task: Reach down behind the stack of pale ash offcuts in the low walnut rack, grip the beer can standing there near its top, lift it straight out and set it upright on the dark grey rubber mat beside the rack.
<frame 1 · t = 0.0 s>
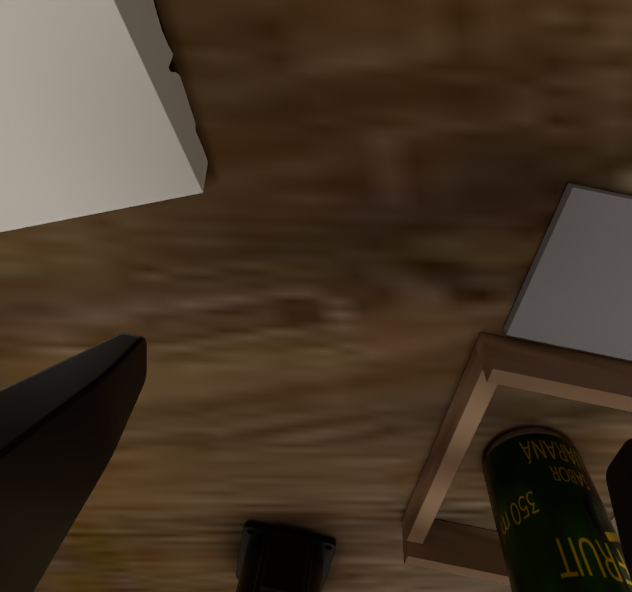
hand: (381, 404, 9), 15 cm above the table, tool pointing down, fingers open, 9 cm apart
beer can: (526, 454, 29), resting in walnut rack
walnut rack: (602, 473, 29), on the table
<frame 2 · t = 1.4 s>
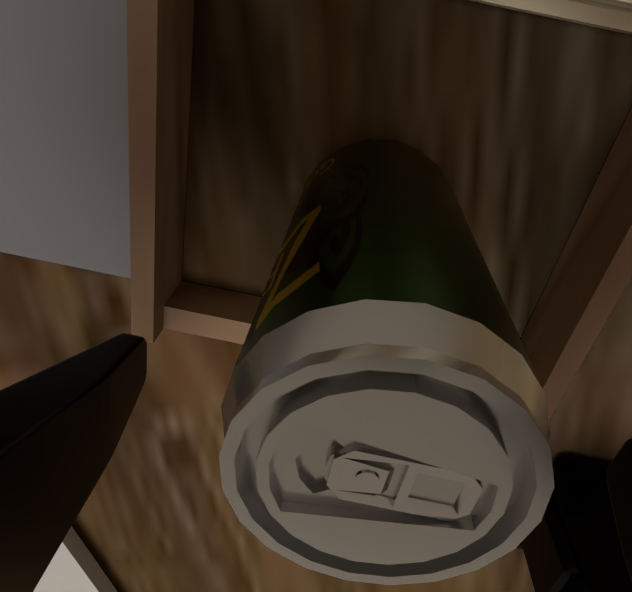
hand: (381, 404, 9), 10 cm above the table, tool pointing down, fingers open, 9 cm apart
grey rubber mat: (45, 129, 17), on the table
beer can: (375, 209, 18), resting in walnut rack
walnut rack: (409, 77, 15), on the table
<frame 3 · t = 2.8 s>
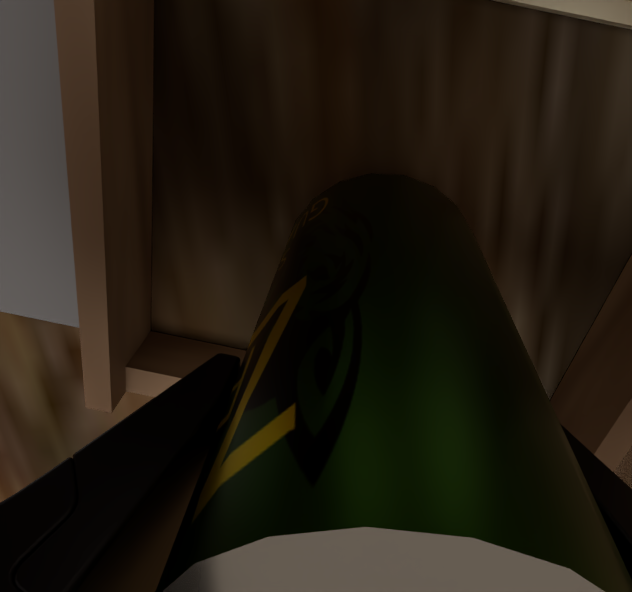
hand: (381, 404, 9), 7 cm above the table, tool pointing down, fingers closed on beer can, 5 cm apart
beer can: (378, 252, 15), resting in walnut rack, touching gripper
walnut rack: (421, 97, 12), on the table
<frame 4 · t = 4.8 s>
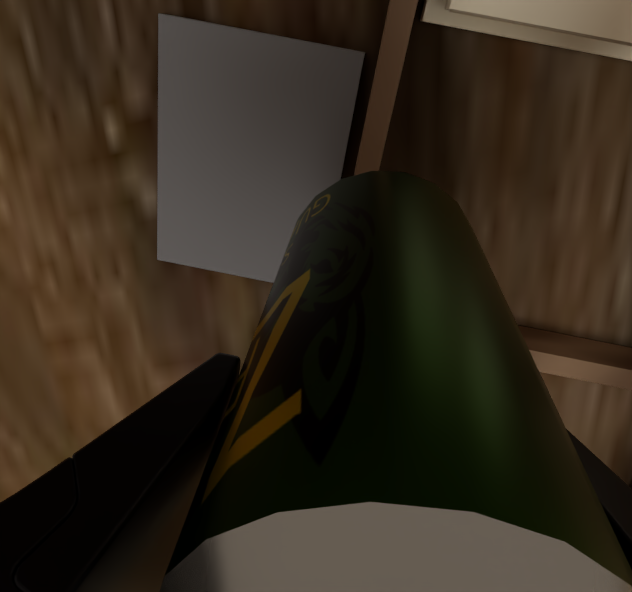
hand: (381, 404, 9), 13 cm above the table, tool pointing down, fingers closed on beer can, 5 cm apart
grey rubber mat: (251, 165, 21), on the table
beer can: (379, 249, 15), point 6 cm above the table, touching gripper
walnut rack: (572, 122, 19), on the table
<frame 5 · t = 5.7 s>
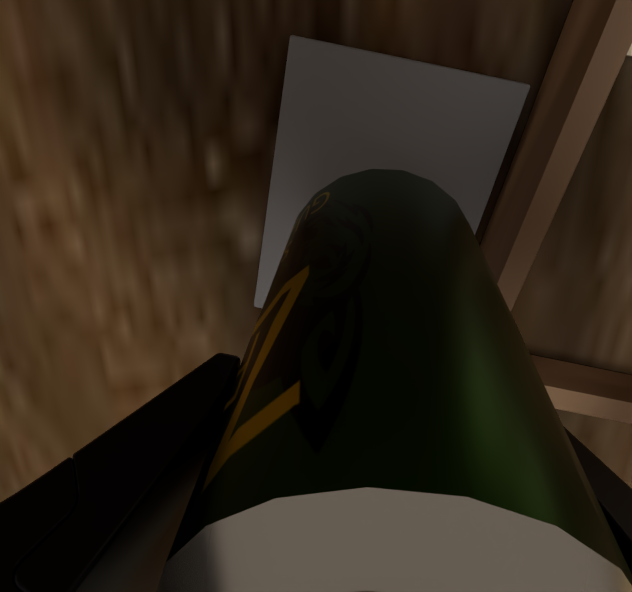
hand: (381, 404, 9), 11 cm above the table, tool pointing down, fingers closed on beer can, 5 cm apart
grey rubber mat: (372, 205, 18), on the table
beer can: (378, 246, 15), point 4 cm above the table, touching gripper
when the fingers open (8 cm above the table, at t = 6.9 s): beer can stays where it is, resting on grey rubber mat.
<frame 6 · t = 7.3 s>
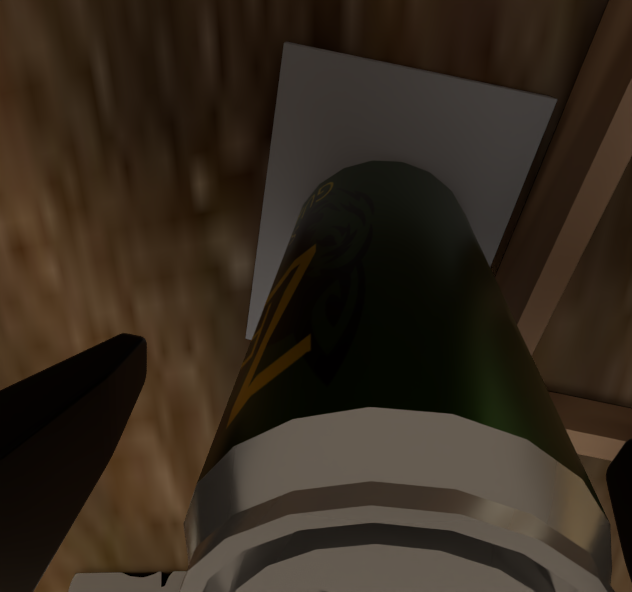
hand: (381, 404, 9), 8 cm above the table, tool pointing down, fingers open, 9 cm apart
grey rubber mat: (376, 230, 16), on the table
beer can: (379, 235, 16), resting on grey rubber mat
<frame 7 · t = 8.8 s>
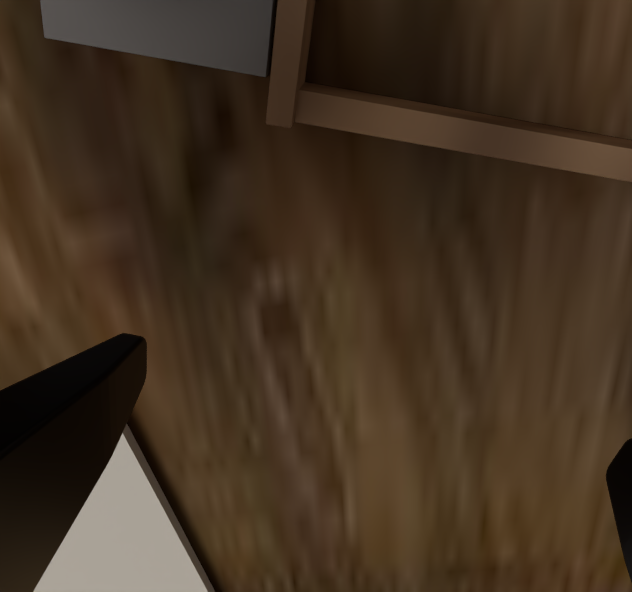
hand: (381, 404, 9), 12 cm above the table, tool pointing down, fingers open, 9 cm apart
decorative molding: (151, 570, 35), on the table
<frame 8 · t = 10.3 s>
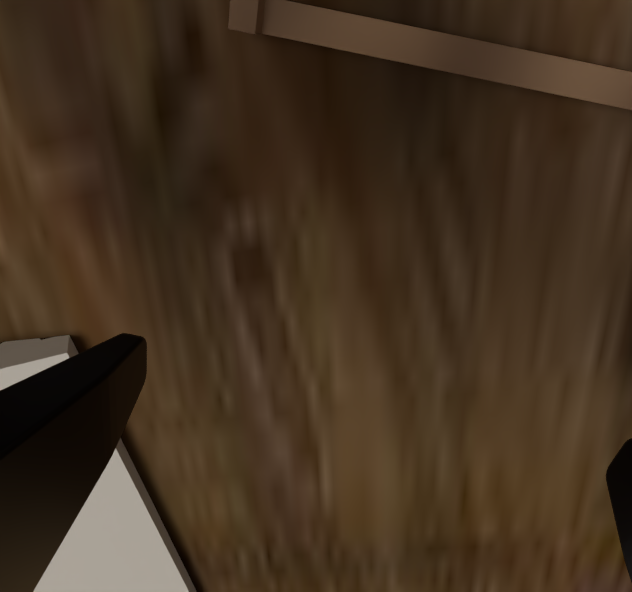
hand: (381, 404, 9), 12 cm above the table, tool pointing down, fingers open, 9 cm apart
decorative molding: (118, 539, 34), on the table
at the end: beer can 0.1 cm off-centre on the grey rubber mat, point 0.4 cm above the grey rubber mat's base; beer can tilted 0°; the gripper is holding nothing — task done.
